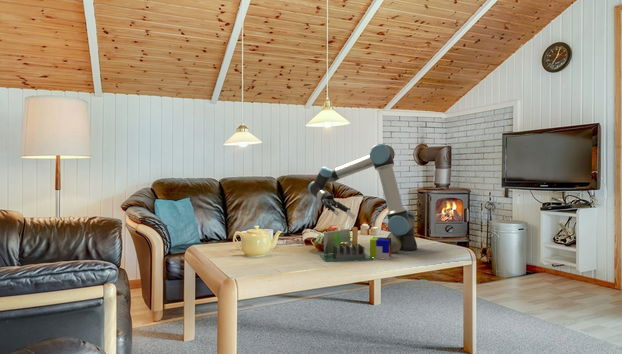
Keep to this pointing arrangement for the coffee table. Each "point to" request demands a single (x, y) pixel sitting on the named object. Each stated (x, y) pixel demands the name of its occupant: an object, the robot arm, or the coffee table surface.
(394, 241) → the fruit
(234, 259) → the coffee table surface
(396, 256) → the coffee table surface
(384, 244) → the puzzle toy
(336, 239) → the upright grey panel
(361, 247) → the model factory
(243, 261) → the coffee table surface
